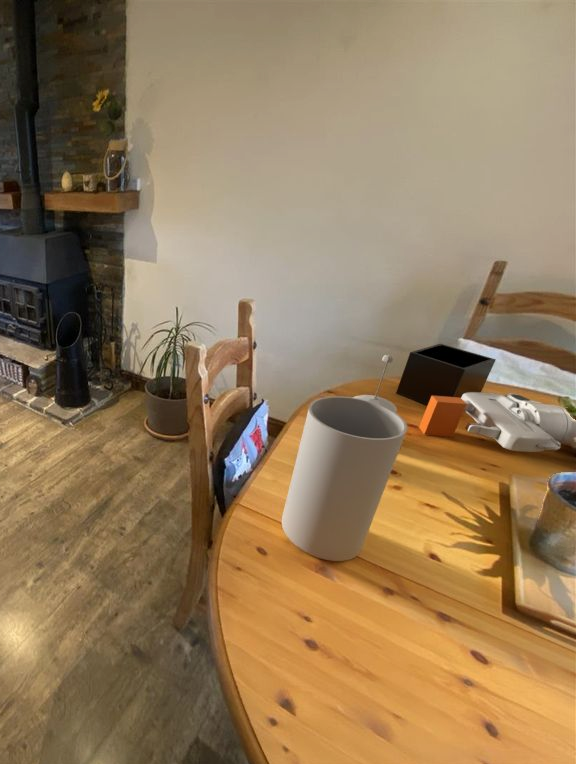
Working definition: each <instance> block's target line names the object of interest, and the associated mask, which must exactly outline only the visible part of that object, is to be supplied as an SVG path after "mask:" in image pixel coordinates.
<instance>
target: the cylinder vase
mask: <svg viewBox="0 0 576 764" xmlns="http://www.w3.org/2000/svg"><path fill="white" fill-rule="evenodd" d="M407 431H408V425H407V422H406V421H405V419H404V418H403V417H402V416H400V414H398V412H396V413H395V412H393V411H392V410H390V409H388V408H386V407H384V406H381V405H379V404H376V403H373V402H370V401H366V400H362V399H358V398H353V397H352V396H351V397H350V396H340V395H339V396H337V395H335V396H333V395H332V396H324V397H319V398H317V399H314V400H313V401H311V403H310V404H309V406H308V409H307V414H306V418H305V421H304V426H303V430H302V434H301V439H300V442H299V446H298V450H297V454H296V459H295V461H294V467H293V472H292V475H291V479H290V483H289V487H288V491H287V495H286V500H285V504H284V509H283V511H282V515H281V527H282V530H283V532H284V534H285V536H286V537H287V539H288V540H289V541H290V542H291V543H292V544H293V545H295V547H297V548H298V549H299V550H301V551H303V552H305V554H308V555H310V556H312V557H315V558H318V559H322V560H325V561H329V562H330V561H331V562H345V561H349V560H351V559H354V558H356V557H357V556H358V555H359V554H360V553H361V551H362V549H363V546H364V544H365V541H366V539H367V537H368V533H369V530H370V528H371V525H372V523H373V520H374V518H375V515H376V512H377V510H378V507H379V505H380V503H381V499H382V497H383V494H384V492H385V489H386V486H387V483H388V481H389V478H390V475H391V473H392V471H393V468H394V466H395V462H396V460H397V457H398V455H399V452H400V449H401V447H402V444H403V441H404V439H405V436H406V433H407Z"/></svg>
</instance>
